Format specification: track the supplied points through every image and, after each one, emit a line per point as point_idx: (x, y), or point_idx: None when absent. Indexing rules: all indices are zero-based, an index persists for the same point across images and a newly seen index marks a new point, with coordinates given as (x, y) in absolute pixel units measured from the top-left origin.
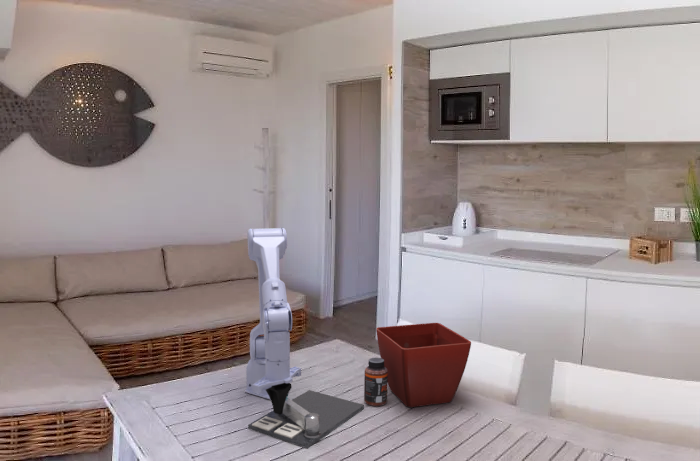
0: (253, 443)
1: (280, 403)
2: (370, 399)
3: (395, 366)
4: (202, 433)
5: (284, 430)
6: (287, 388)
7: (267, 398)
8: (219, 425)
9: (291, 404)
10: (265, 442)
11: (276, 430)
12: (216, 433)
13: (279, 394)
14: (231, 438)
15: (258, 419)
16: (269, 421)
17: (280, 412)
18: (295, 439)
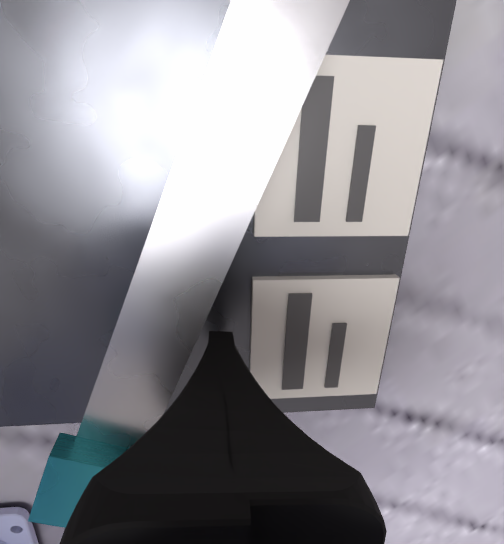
0: (499, 270)
1: (257, 383)
2: None
3: None
4: (478, 491)
5: (366, 181)
6: (213, 491)
7: (32, 526)
8: (389, 493)
9: (184, 304)
10: (469, 222)
11: (391, 228)
12: (460, 457)
13: (341, 461)
14: (483, 385)
15: (295, 407)
16: (305, 340)
17: (233, 338)
18: (444, 14)
